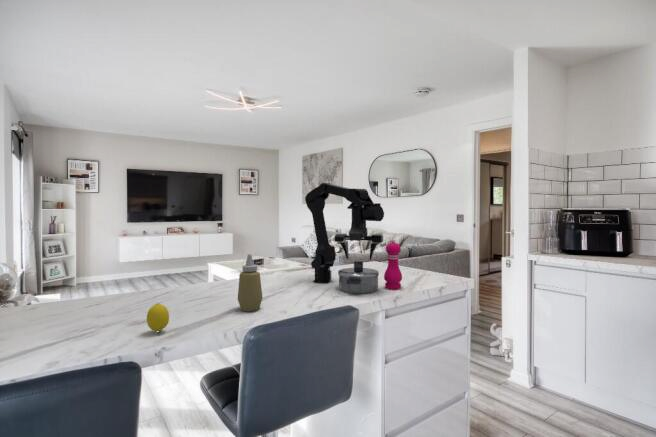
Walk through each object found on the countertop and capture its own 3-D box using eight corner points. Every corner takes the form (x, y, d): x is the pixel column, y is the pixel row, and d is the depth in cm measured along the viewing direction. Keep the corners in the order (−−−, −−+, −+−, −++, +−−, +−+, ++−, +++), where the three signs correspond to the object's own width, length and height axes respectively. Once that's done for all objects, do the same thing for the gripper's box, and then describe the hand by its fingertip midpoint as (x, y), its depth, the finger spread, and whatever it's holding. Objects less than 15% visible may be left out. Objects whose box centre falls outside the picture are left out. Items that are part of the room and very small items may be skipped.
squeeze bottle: (267, 306, 125) (266, 253, 124) (254, 313, 118) (254, 257, 117) (246, 304, 128) (245, 252, 127) (232, 311, 120) (231, 255, 119)
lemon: (151, 329, 104) (150, 300, 104) (172, 328, 105) (171, 300, 104) (143, 336, 99) (142, 306, 98) (165, 335, 99) (164, 305, 99)
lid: (333, 279, 144) (333, 263, 143) (343, 272, 159) (343, 257, 159) (375, 282, 139) (375, 265, 139) (381, 274, 155) (381, 259, 154)
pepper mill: (401, 286, 155) (401, 237, 154) (402, 290, 148) (403, 239, 147) (383, 285, 156) (383, 237, 155) (384, 289, 149) (384, 239, 148)
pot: (333, 294, 142) (333, 278, 141) (346, 282, 162) (346, 268, 161) (373, 297, 137) (373, 281, 137) (380, 284, 158) (381, 270, 157)
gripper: (330, 221, 143) (330, 262, 144) (379, 221, 138) (379, 264, 139) (337, 219, 154) (338, 257, 154) (383, 220, 149) (383, 259, 149)
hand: (358, 259), depth 149 cm, fingers open, 9 cm apart
